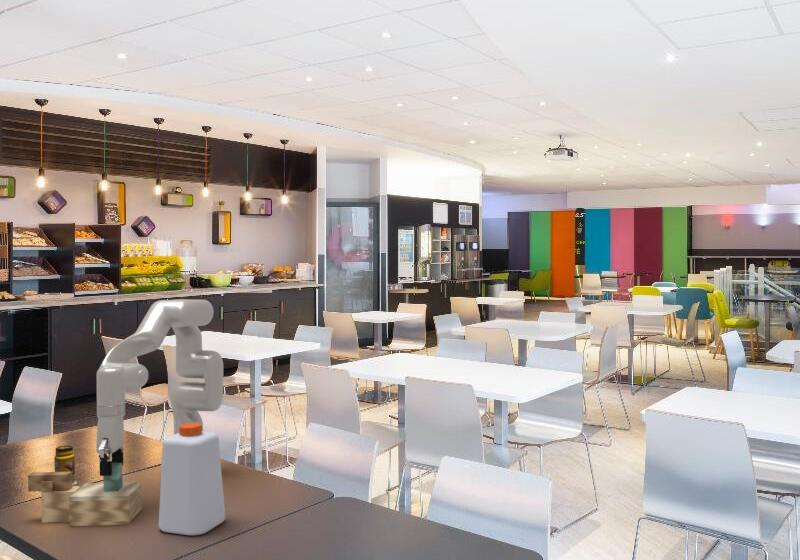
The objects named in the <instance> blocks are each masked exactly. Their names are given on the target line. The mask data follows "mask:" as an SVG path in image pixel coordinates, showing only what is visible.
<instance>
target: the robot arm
mask: <svg viewBox="0 0 800 560" xmlns="http://www.w3.org/2000/svg"><path fill="white" fill-rule="evenodd" d="M213 317H214V307H213V304H212V303H211V302H210V301H208V300H207V299H189V298H188V299H182V298H181V299H179V298H177V299H163V300H161V299H160V300H157V301H155V302H153V303H152V304H151V305H150V307H149V309H148V310H147V313H146V314H145V316H144V317H143V319H142V321H141V323H140V324H139V326H138V327H137V330H136V331H135V332H134V333H133V334H132V335H130V336H128V337H126V338H124V339H123V340H121V341H120V342H119V343H117V344H115V345H114V346H113V347H112V348H111V349H110V350H109V351H108V352H107V354H106V356H105V357H104V359H103V360H102V362H101V364H100V366H99V368H98V370H97V371H96V417H97V426H96V442H95V443H96V446H95V447H96V449H95V451H96V453H97V454H99V455H98V458H99V459H98V462H99V476H100V477H103V476H111V475H112V463H122V467H123V466H124V443H125V425H124V417H125V416H126V390H138V389H140V388H142V387H143V386H145V385H146V384H147V382H148V381H149V370H148V369H147V368H146V366H145V365H143V364H142V363H141V364H140V363H134V362H133V363H132V362H129V361H131V360H132V359H135V358H137V357H141V356H143V355H146V354H149V353H151V352H154V351H156V350H157V349H159V348H160V347H161V346H162V344H163V342H164V340H165V338H166V337H167V335H168V333H169V330H171V328H172V331H173V333H174V335H175V372H176V374H177V375H178V376H179V377H180V378H185V379H203V380H204V382H198V381H197V382H196V381H181V382H179V383H176V384H174V386H172V388H171V389H170V393H169V395H170V396H169V400H170V404H171V405H170V406H171V410H172V416H173V435H175V434H177V433H179V427H180V426H181V425H182V424H187V423H199V424H201V425H202V431H204V422H203V419H202V417H201V414H200V413H199V412H215V411H216V412H217V410H219V409H220V407H221V406H222V404H223V397H224V361H223V357H222V355H221V354H220V353H219V352H218V351H215V350H208V349H207V350H205V349H203V335H202V331H201V330H200V328H199V327H202V326H206V325H209V323H210V322H212V319H213Z"/></svg>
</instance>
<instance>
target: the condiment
mask: <svg viewBox="0 0 800 560" xmlns="http://www.w3.org/2000/svg"><path fill="white" fill-rule="evenodd" d="M54 454H55V455H54V472H72V486H73V485H77V484H78V481H77V480H76V465H75V454H74V446H73V445H61V446H57V447H56V448H55V453H54Z"/></svg>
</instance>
